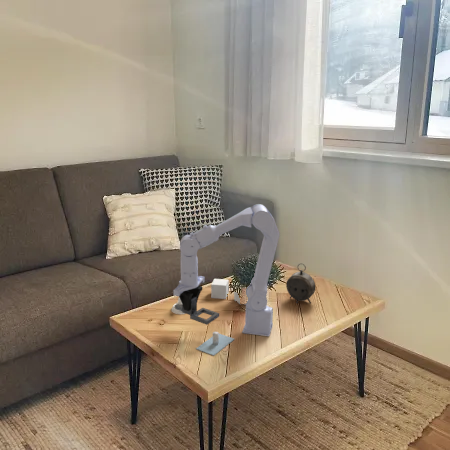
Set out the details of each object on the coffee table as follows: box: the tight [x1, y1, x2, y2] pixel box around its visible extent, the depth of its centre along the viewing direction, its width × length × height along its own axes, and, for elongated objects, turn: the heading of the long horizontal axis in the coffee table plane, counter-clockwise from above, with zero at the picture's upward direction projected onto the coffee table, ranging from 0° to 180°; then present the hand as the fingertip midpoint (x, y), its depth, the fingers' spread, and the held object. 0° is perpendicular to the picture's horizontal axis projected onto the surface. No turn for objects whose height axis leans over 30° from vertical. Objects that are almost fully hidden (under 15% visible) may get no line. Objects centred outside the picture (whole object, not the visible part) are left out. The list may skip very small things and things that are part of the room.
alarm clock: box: [286, 263, 316, 304], centre depth 182 cm, size 11×5×16 cm, turn 58°
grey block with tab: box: [174, 295, 220, 326], centre depth 158 cm, size 16×7×6 cm, turn 56°
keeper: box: [195, 331, 235, 356], centre depth 153 cm, size 7×12×4 cm, turn 146°
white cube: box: [210, 278, 230, 300], centre depth 189 cm, size 6×6×6 cm
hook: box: [170, 297, 187, 315], centre depth 176 cm, size 8×12×7 cm
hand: (190, 307), depth 159 cm, fingers closed on grey block with tab, 3 cm apart
